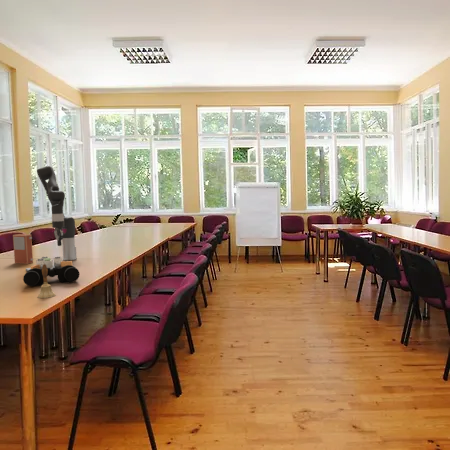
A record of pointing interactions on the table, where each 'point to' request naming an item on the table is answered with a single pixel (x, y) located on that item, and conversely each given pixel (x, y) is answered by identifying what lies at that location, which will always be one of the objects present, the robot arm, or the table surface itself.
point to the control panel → (23, 248)
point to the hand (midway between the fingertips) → (59, 245)
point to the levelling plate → (48, 263)
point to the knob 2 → (61, 262)
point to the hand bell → (45, 285)
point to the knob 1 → (39, 264)
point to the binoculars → (51, 275)
